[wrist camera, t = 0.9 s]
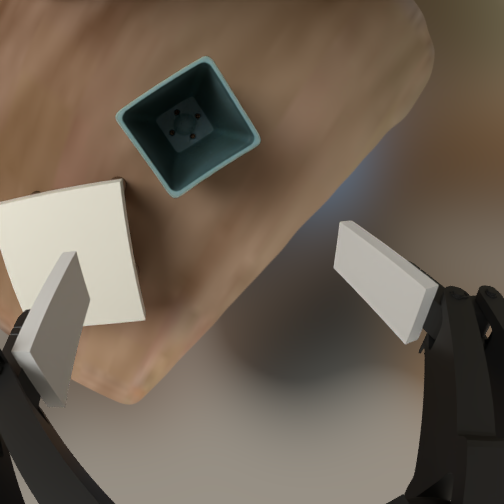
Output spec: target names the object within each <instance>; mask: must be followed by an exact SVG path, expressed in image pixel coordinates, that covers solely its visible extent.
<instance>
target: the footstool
mask: <svg viewBox="0 0 504 504" xmlns="http://www.w3.org/2000/svg"><path fill="white" fill-rule="evenodd" d="M125 189H126V182H125V180H124V179H123V178H121V177H114V178H112V179H111V180H109V181H103V182H96V183H90V184H84V185H79V186H73V187H67V188H62V189H57V190H52V191H47V192H42V193H41V192H39V191H35V192H33V193H32V194H30V195H28V196H24V197H20V198H15V199H11V200H7V201H3V202H0V249H1V252H2V256H3V259H4V262H5V265H6V268H7V271H8V274H9V277H10V280H11V282H12V285H13V288H14V290H15V293H16V296H17V298H18V301H19V303H20V306H21V308H22V310H23V312H24V311H25V310H28V309H31V308H32V306H33V304H34V302H35V300H36V298H37V296H38V294H39V292H40V290H41V289H42V287H43V285H44V283H45V281H46V280H47V278H48V276H49V274H50V273H51V271H52V269H53V267H54V266H55V264H56V262H57V261H58V259H59V257H60V256H61V254H62V253H64V252H71V251H76V252H77V256H78V259H79V263H80V267H81V270H82V274H83V277H84V281H85V284H86V287H87V290H88V293H89V297H90V303H89V307H88V310H87V313H86V317H85V320H84V324H83V326H90V325H101V324H112V323H123V322H133V321H142V320H145V314H146V311H145V307H144V302H143V298H142V294H141V289H140V284H139V280H138V275H139V267H138V266H137V265H136V264H135V259H134V254H133V249H132V243H131V237H130V231H129V224H128V218H127V211H126V203H125V196H124V191H125Z"/></svg>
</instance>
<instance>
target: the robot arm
mask: <svg viewBox="0 0 504 504" xmlns="http://www.w3.org/2000/svg"><path fill="white" fill-rule="evenodd" d="M334 269H335V270H336V271H337V272H338V273H339V274H340V275H341V276H342V277H343V278H344V279H345V280H346V281H347V282H348V283H349V284H350V285H351V286H352V287H353V288H354V289H355V290H356V292H357V293H358V294H359V295H360V296H361V297H362V298H363V299H364V300H365V301H366V302H367V303H368V304H369V305H370V306H371V307H372V309H373V310H374V311H375V312H376V313H377V314H378V315H379V316H380V317H381V318H382V319H383V320H384V322H385V323H386V324H387V325H388V326H389V327H390V328H391V329H392V330H393V331H394V333H395V334H397V336H398V337H399V338H400V339H401V340H402V341H403V343H405V344H408V343H410V342H413V341H415V340H417V339H418V338H419V335H420V333H421V331H422V328H423V329H424V330H425V331H426V332H427V334H426V336H425V339H424V341H423V343H422V345H421V348H420V350H419V353H421V352H422V350H423V349H424V348H425V353H424V354H425V373H424V374H425V376H424V377H425V378H424V398H423V412H422V424H421V434H420V441H419V449H418V456H417V462H416V468H415V473H414V476H413V479H412V480H411V482H410V484H409V486H408V487H407V490H406V492H405V495H401V496H399V497H397V498H396V499H394V500H392V501H390V502H388V503H387V504H504V298H503V296H502V295H501V294H500V293H499V292H498V291H497V290H496V289H495V288H493V287H491V286H481V287H480V288H479V290H478V293H477V295H476V296H469V294H468V293H467V292H466V291H464V290H462V289H461V288H458V287H454V286H449V287H446V288H444V287H443V286H442V285H440V284H439V283H438V282H437V281H436V280H434V279H433V278H432V277H430V276H429V275H428V274H426V273H425V272H424V271H423V270H420V268H419V267H417V266H416V265H415V264H413V263H412V262H410V261H408V260H406V259H404V258H403V257H402V256H400V255H399V254H398V253H396V252H395V251H394V250H392V249H391V248H390V247H388V246H387V245H386V244H384V243H383V242H381V241H380V240H379V239H377V238H376V237H374V236H373V235H371V234H370V233H369V232H367V231H366V230H365V229H363V228H362V227H360V226H359V225H357V224H356V223H354V222H353V221H342V222H340V224H339V232H338V240H337V247H336V255H335V262H334ZM89 303H90V297H89V293H88V290H87V287H86V284H85V281H84V277H83V274H82V270H81V267H80V263H79V259H78V256H77V252H76V251H71V252H64V253H62V254H61V256H60V257H59V259H58V261H57V262H56V264H55V266H54V267H53V269H52V271H51V273H50V274H49V276H48V278H47V280H46V281H45V283H44V285H43V287H42V289H41V290H40V292H39V294H38V296H37V298H36V300H35V302H34V304H33V306H32V308H31V309H28V310H25V311H24V312H23V313H22V314H21V315H20V316H19V317H18V319H17V321H16V323H15V325H14V328H13V329H12V331H11V333H10V334H11V335H9V337H8V339H7V342H6V344H5V346H4V348H3V351H1V349H0V504H25V502H24V500H23V497H22V494H21V491H20V488H19V485H18V482H17V479H16V476H15V472H14V469H13V465H12V461H11V457H10V454H11V456H12V458H13V460H14V462H15V464H16V466H17V468H18V470H19V471H20V473H21V475H22V477H23V478H24V480H25V482H26V484H27V485H28V487H29V489H30V490H31V492H32V493H33V495H34V497H35V498H36V500H37V501H38V503H39V504H115V503H114V502H113V501H112V500H111V499H110V498H109V497H108V496H107V495H106V494H105V493H104V491H103V490H102V489H101V488H100V487H99V486H98V485H97V484H96V483H95V481H94V480H93V479H92V478H91V477H90V476H89V474H88V473H87V472H86V471H85V470H84V468H83V467H82V466H81V465H80V463H79V462H78V461H77V460H76V458H75V457H74V456H73V454H72V453H71V452H70V451H69V449H68V448H67V446H66V445H65V444H64V442H63V441H62V439H61V438H60V436H59V435H58V434H57V432H56V431H55V429H54V428H53V426H52V425H51V423H50V422H49V420H48V419H47V417H46V415H45V414H44V412H43V411H42V409H41V408H40V407H39V401H40V397H41V398H42V399H43V401H44V402H45V403H46V404H47V406H48V407H65V406H66V400H67V394H68V389H69V384H70V379H71V374H72V369H73V364H74V360H75V356H76V351H77V347H78V343H79V339H80V335H81V331H82V328H83V324H84V320H85V317H86V313H87V310H88V307H89ZM489 326H491V328H492V332H491V334H490V336H489V337H488V338H487V337H486V335H485V334H486V332H487V330H488V328H489ZM9 452H10V453H9ZM450 500H451V501H450Z"/></svg>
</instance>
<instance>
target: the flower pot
mask: <svg viewBox="0 0 504 504" xmlns="http://www.w3.org/2000/svg"><path fill="white" fill-rule="evenodd" d="M175 110H179V114H177V115H176V114H175V113H174V112H175ZM196 114H200V118H196V117H195V115H196ZM115 117H116V121H117V122H118V124H119V125H120V127H121V128H122V129H123V131H124V132H125V133H126V135H127V136H128V137H129V139H130V140H131V142H132V143H133V144H134V146H135V147H136V148H137V150H138V151H139V153H140V154H141V156H142V157H143V158H144V160H145V161H146V162H147V164H148V165H149V167H150V168H151V169H152V171H153V172H154V173H155V175H156V176H157V178H158V179H159V181H160V182H161V184H162V185H163V187H164V188H165V189H166V191H167V192H168V194H169V195H170V196H171V197H173V198H178V197H180V196H182V195H183V194H185V193H186V192H187V191H189V190H190V189H192V188H193V187H194V186H196V185H197V184H199V183H200V182H202V181H203V180H205V179H206V178H208V177H209V176H211V175H212V174H214V173H215V172H217V171H218V170H220V169H221V168H223V167H224V166H226V165H228V164H229V163H231V162H232V161H234V160H236V159H237V158H239V157H240V156H242V155H244V154H245V153H247V152H249V151H250V150H252V149H254V148H255V147H257V146H258V145H259V144H260V143H261V138H260V135H259V133H258V132H257V130H256V129H255V127H254V125H253V124H252V122H251V120H250V119H249V117H248V116H247V114H246V112H245V111H244V109H243V108H242V106H241V104H240V103H239V101H238V99H237V98H236V96H235V95H234V93H233V92H232V90H231V88H230V87H229V85H228V83H227V82H226V80H225V78H224V77H223V75H222V74H221V72H220V71H219V69H218V67H217V66H216V64H215V63H214V61H213V60H212V59H211V58H210V57H209V56H204V57H202V58H200V59H198V60H196V61H195V62H193V63H191V64H189V65H188V66H186V67H185V68H183V69H181V70H180V71H178V72H176V73H175V74H173V75H172V76H170V77H169V78H167V79H165V80H164V81H162V82H161V83H159V84H157V85H156V86H154V87H153V88H151V89H150V90H148V91H147V92H145V93H144V94H143V95H141V96H139V97H138V98H137V99H135V100H134V101H132V102H131V103H129V104H128V105H126V106H125V107H123V108H122V109H121V110H120V111H119V112H118V113H117V114H116V116H115ZM171 130H173V131H174V134H173V135H170V131H171ZM191 134H195V138H191V137H190V136H191Z"/></svg>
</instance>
